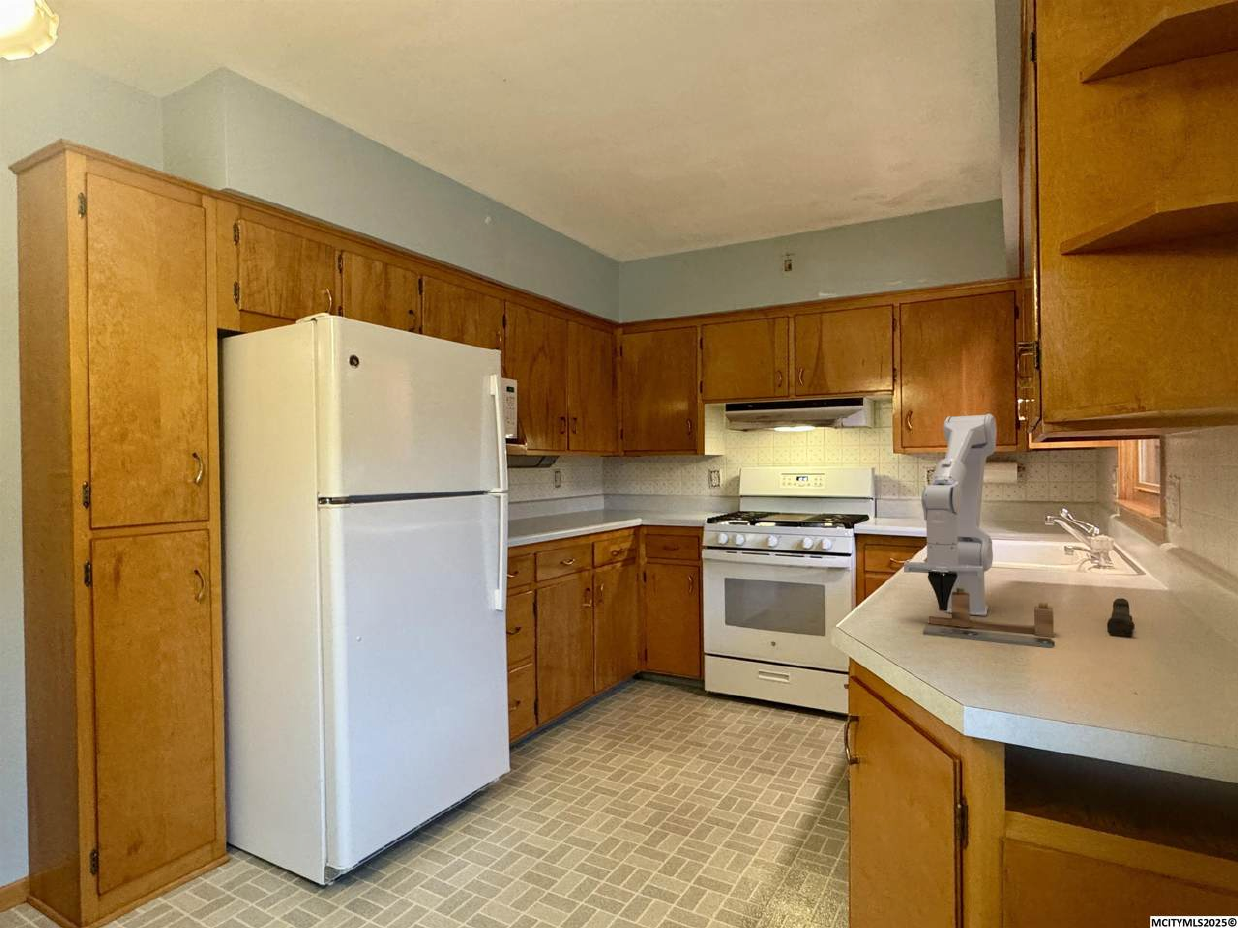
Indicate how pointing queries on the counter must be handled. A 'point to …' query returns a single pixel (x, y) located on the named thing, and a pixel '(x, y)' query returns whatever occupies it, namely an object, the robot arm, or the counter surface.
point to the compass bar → (1040, 628)
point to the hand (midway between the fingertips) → (943, 609)
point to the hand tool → (1120, 620)
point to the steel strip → (990, 636)
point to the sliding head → (960, 608)
